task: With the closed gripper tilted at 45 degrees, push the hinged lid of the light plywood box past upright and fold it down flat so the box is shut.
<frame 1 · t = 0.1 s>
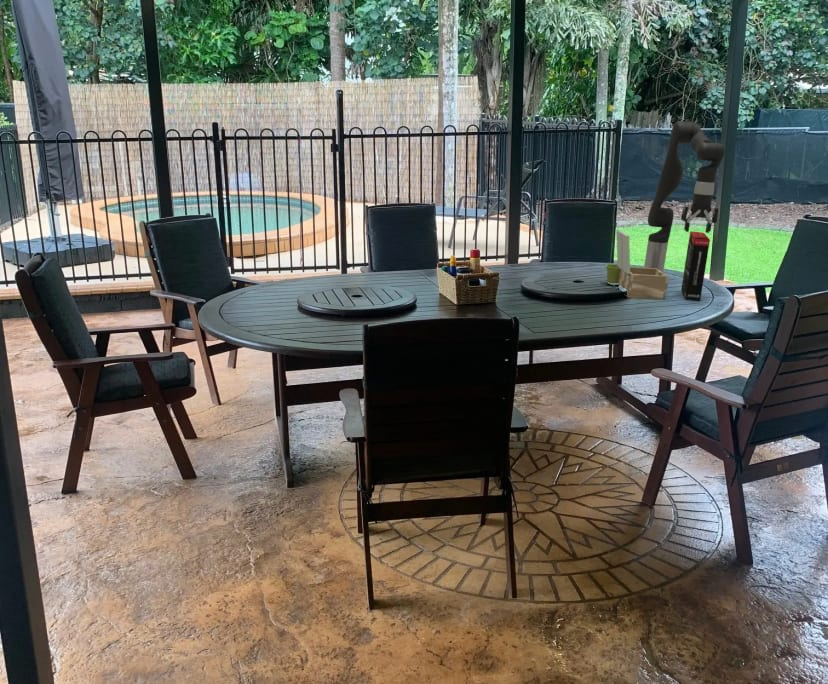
hand: (696, 232, 322), 29 cm above the table, tool pointing down, fingers open, 8 cm apart
plywood box: (640, 293, 337), on the table
plant pot: (613, 285, 351), on the table
graphics card box: (689, 296, 339), on the table
box lid: (623, 252, 332), point 18 cm above the table, hinge at 100.0°
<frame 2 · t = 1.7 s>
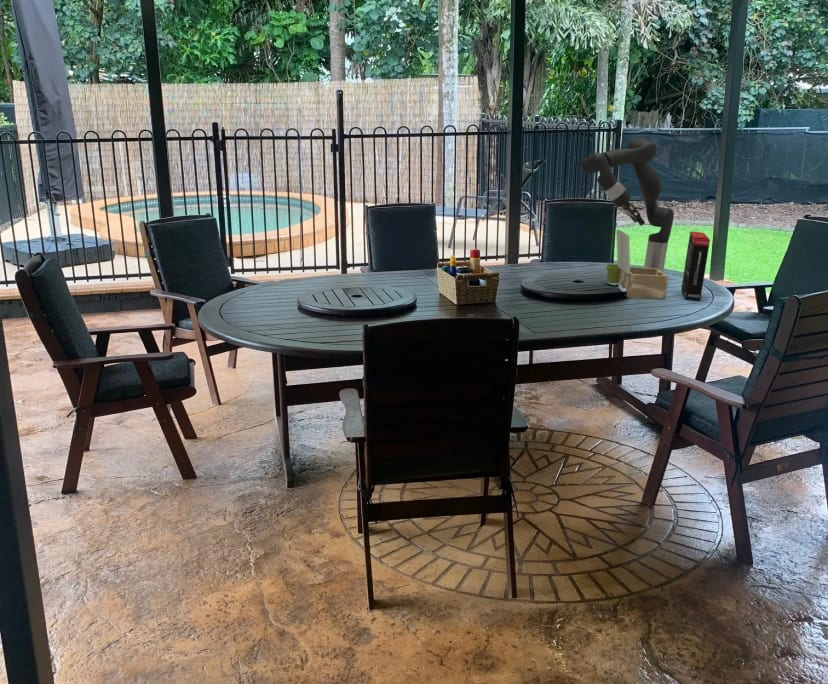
hand: (639, 222, 327), 31 cm above the table, tool tilted 45°, fingers open, 8 cm apart
nothing on the table moved.
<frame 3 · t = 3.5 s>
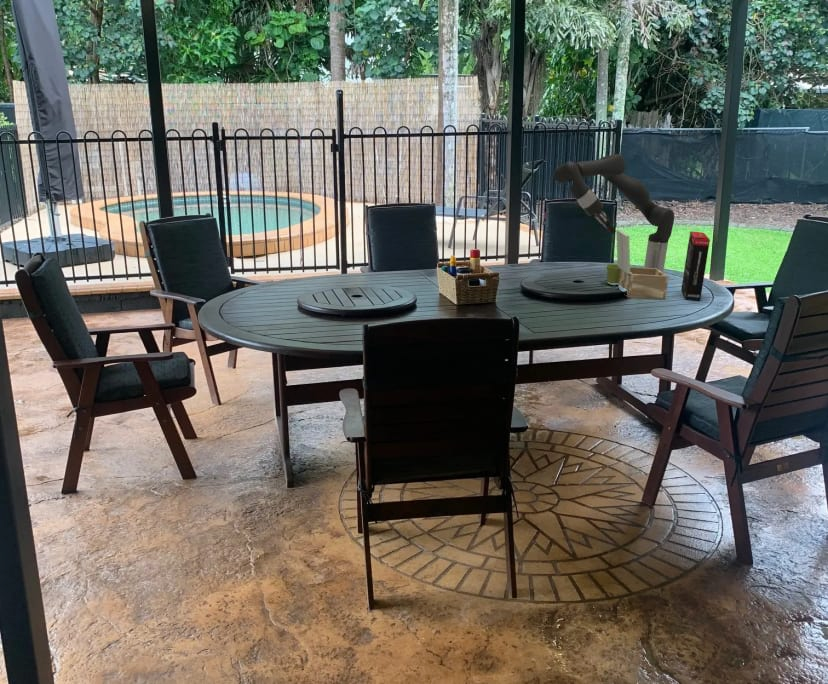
hand: (613, 232, 332), 26 cm above the table, tool tilted 45°, fingers closed
nothing on the table moved.
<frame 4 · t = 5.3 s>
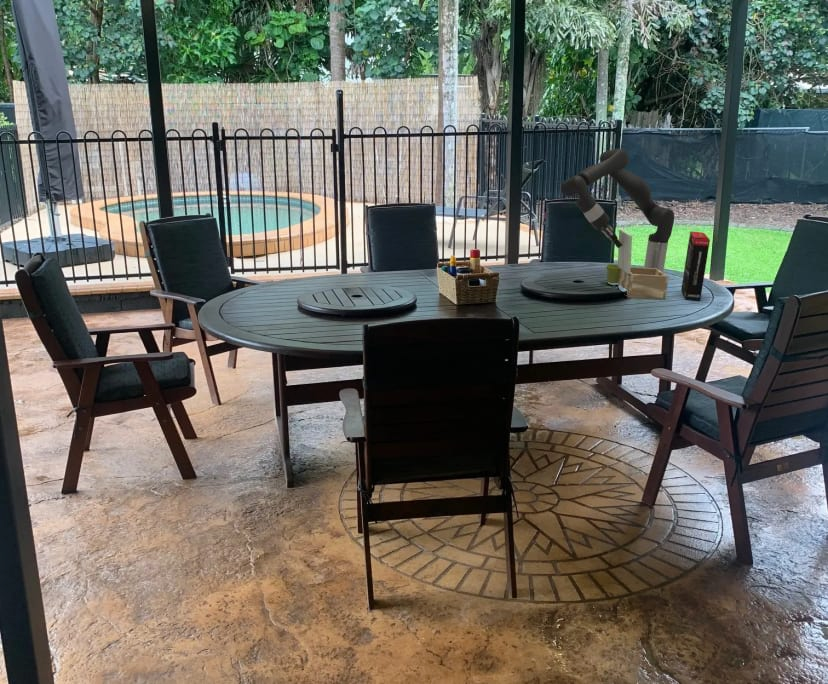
hand: (619, 246, 334), 20 cm above the table, tool tilted 45°, fingers closed
box lid: (624, 252, 332), point 18 cm above the table, hinge at 95.6°, touching gripper
everything else where it was.
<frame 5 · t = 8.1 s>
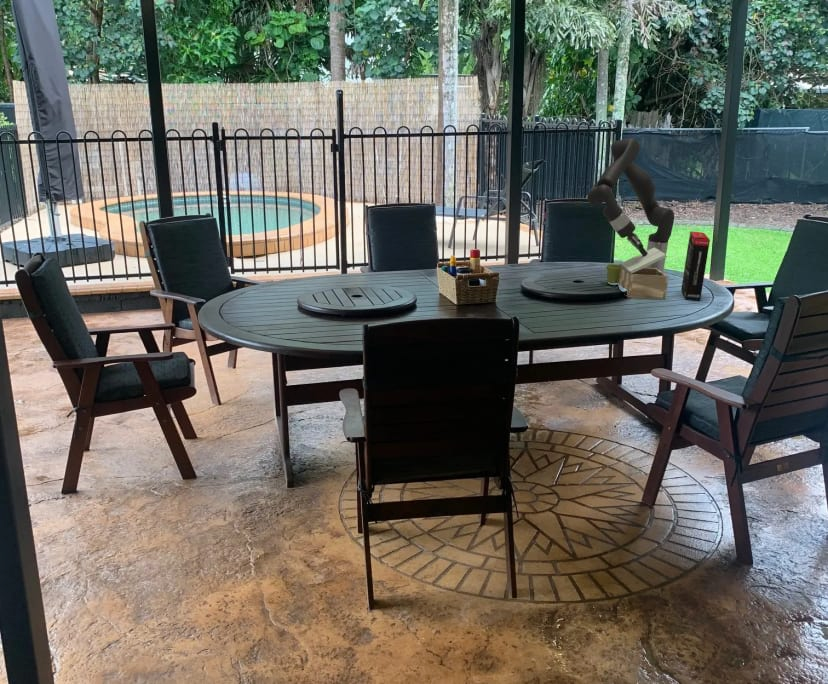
hand: (645, 254, 335), 17 cm above the table, tool tilted 45°, fingers closed
box lid: (642, 260, 333), point 15 cm above the table, hinge at 29.9°, touching gripper
everything else where it was.
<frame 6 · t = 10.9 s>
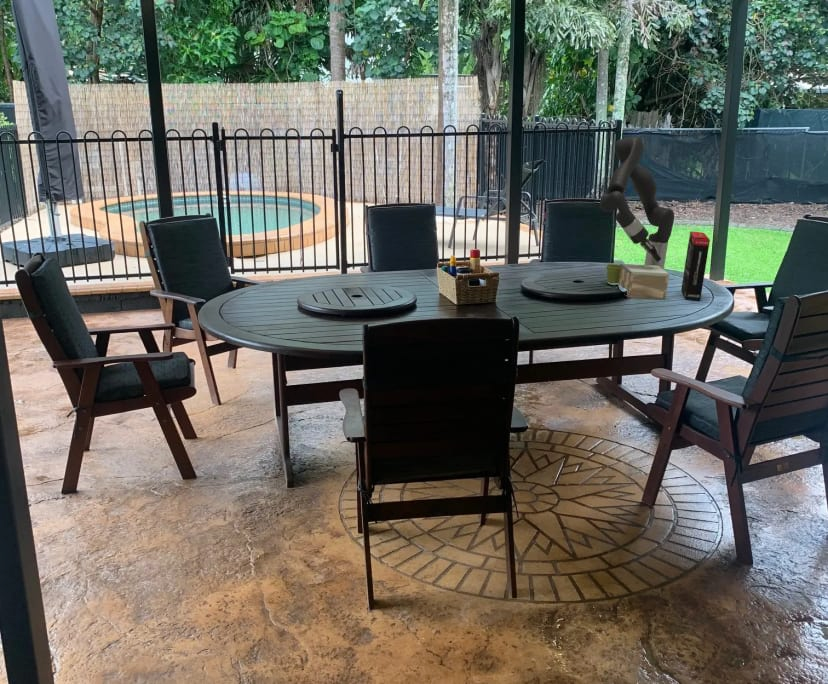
hand: (658, 260, 336), 15 cm above the table, tool tilted 45°, fingers closed
box lid: (643, 269, 334), point 11 cm above the table, hinge at -0.1°
everything else where it was.
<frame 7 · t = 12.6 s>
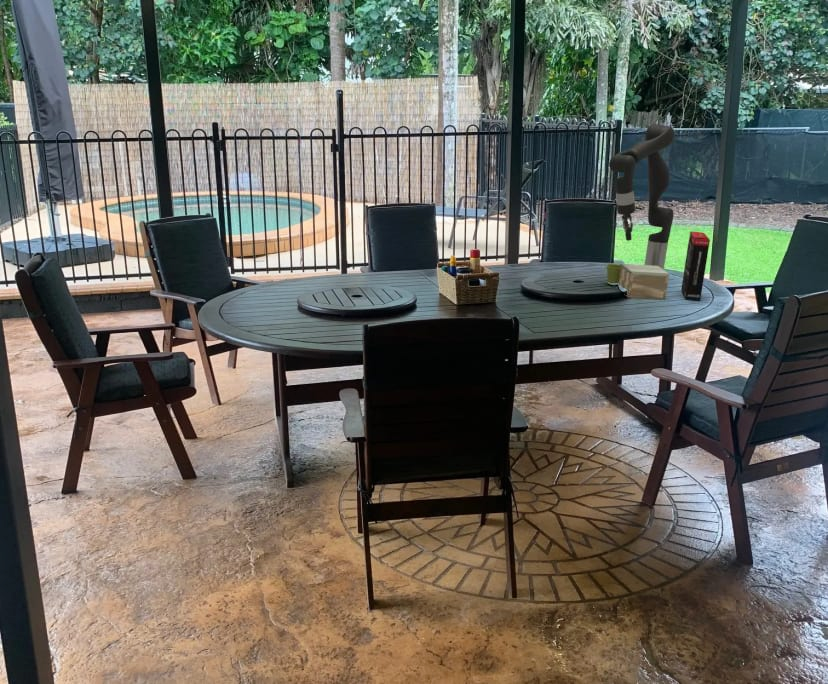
hand: (628, 239, 337), 22 cm above the table, tool tilted 15°, fingers closed
nothing on the table moved.
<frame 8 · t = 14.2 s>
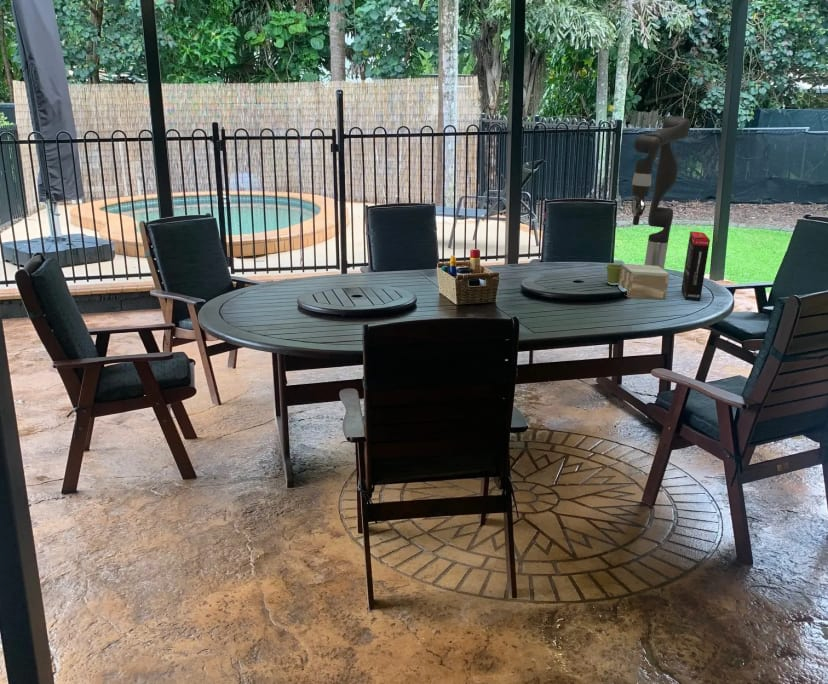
hand: (635, 224, 334), 29 cm above the table, tool pointing down, fingers closed
nothing on the table moved.
at the end: box lid at +0° (first picture: +100°); graphics card box moved 0.3 cm from its start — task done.
